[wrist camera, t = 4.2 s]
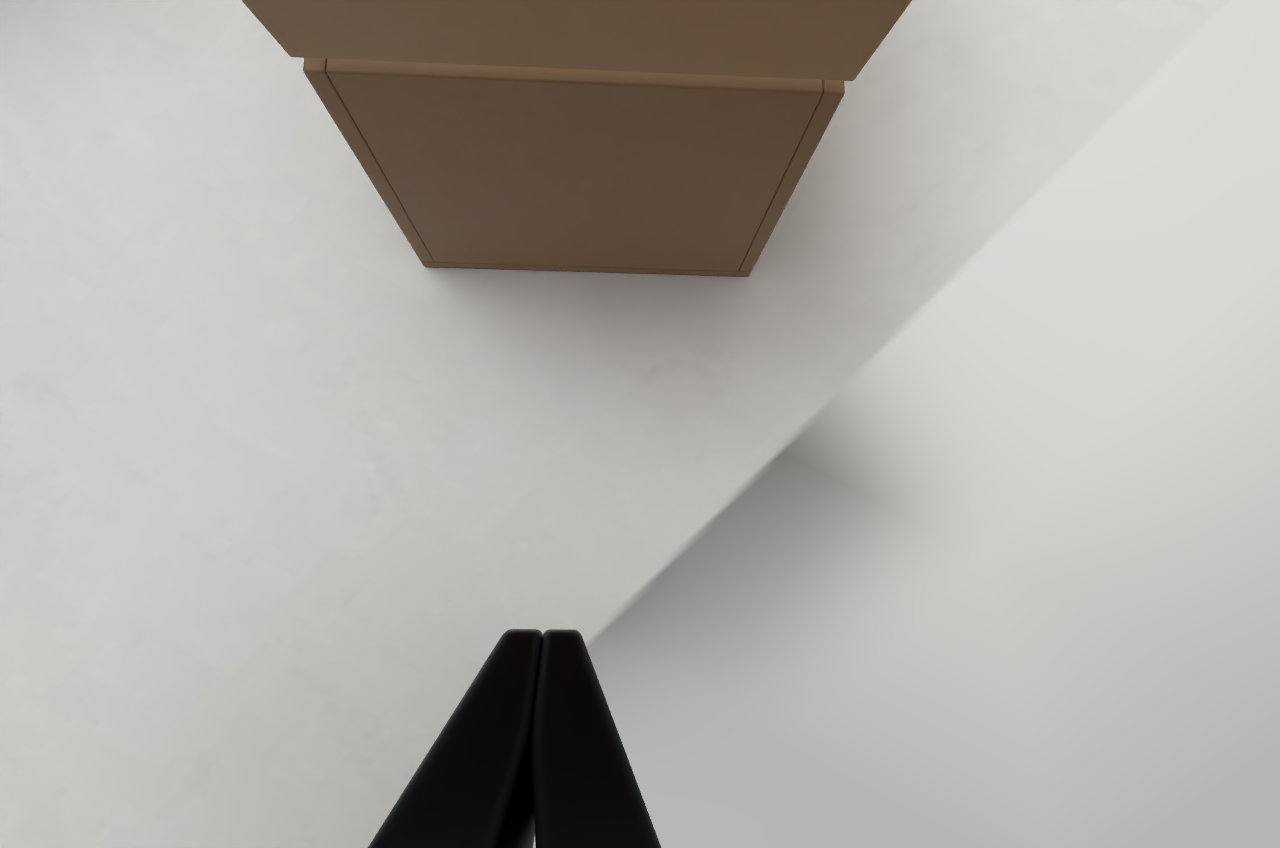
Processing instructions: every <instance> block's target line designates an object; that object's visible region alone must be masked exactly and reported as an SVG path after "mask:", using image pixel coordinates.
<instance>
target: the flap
mask: <svg viewBox="0 0 1280 848" xmlns="http://www.w3.org/2000/svg"><path fill="white" fill-rule="evenodd" d="M242 1H243V2H244V4H245V5H246V6H247V7H248V8H249V9H250V10H251V12H252V13H253V14H254V15H255V16H256V17H257V19H258V20H259V21H260V22H261V23H262V24H263V25H264V27H265V28H266V29H267V30H268V31H269V32H270V34H271V35H272V36H273V37H274V38H275V39H276V40H277V42H278V43H279V44H280V45H281V46H282V47H283V49H284V50H285V51H286V52H287V53H288V54H289V55H290V56H291V57H303V58H327V59H350V60H374V61H397V62H421V63H444V64H467V65H491V66H514V67H538V68H561V69H585V70H608V71H632V72H655V73H679V74H702V75H726V76H749V77H773V78H796V79H820V80H843V81H853V80H854V79H855V78H856V76H857V75H858V74H859V72H860V71H861V69H862V68H863V67H864V65H865V64H866V63H867V61H868V60H869V59H870V57H871V56H872V54H873V53H874V52H875V50H876V49H877V48H878V46H879V45H880V43H881V42H882V41H883V39H884V38H885V37H886V35H887V34H888V32H889V31H890V30H891V28H892V27H893V26H894V24H895V23H896V21H897V20H898V19H899V17H900V16H901V15H902V13H903V12H904V11H905V9H906V8H907V6H908V5H909V4H910V2H911V1H912V0H242Z"/></svg>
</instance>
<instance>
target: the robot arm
mask: <svg viewBox="0 0 1280 848" xmlns="http://www.w3.org/2000/svg"><path fill="white" fill-rule="evenodd" d="M534 836H535V842H536V848H661V846H660V843H659V841H658V838H657V835H656V832H655V830H654V827H653V824H652V822H651V819H650V816H649V814H648V811H647V809H646V806H645V803H644V800H643V798H642V795H641V793H640V790H639V787H638V785H637V782H636V779H635V776H634V774H633V771H632V768H631V766H630V763H629V760H628V758H627V755H626V752H625V750H624V747H623V744H622V742H621V739H620V737H619V734H618V731H617V728H616V726H615V723H614V720H613V718H612V715H611V713H610V710H609V707H608V705H607V702H606V699H605V696H604V694H603V691H602V689H601V686H600V684H599V680H598V678H597V675H596V673H595V670H594V667H593V665H592V662H591V659H590V657H589V654H588V651H587V649H586V646H585V643H584V641H583V638H582V636H581V634H580V633H579V632H578V631H577V630H551V629H550V630H547V631H546V632H545V633H544V634H542V632H541V631H539V630H536V629H510V630H508V631H506V632H505V633H504V634H503V635H502V637H501V638H500V640H499V641H498V643H497V644H496V646H495V648H494V649H493V651H492V652H491V654H490V655H489V657H488V659H487V660H486V662H485V663H484V665H483V667H482V668H481V670H480V671H479V673H478V674H477V676H476V678H475V679H474V681H473V682H472V684H471V686H470V687H469V689H468V690H467V692H466V693H465V695H464V697H463V698H462V700H461V701H460V703H459V704H458V706H457V708H456V709H455V711H454V712H453V714H452V716H451V717H450V719H449V720H448V722H447V723H446V725H445V727H444V728H443V730H442V731H441V733H440V735H439V736H438V738H437V739H436V741H435V742H434V744H433V746H432V747H431V749H430V750H429V752H428V753H427V755H426V757H425V758H424V760H423V761H422V763H421V765H420V766H419V768H418V769H417V771H416V772H415V774H414V776H413V777H412V779H411V780H410V782H409V784H408V785H407V787H406V788H405V790H404V791H403V793H402V795H401V796H400V798H399V799H398V801H397V803H396V804H395V806H394V807H393V809H392V810H391V812H390V814H389V815H388V817H387V818H386V820H385V821H384V823H383V825H382V826H381V828H380V829H379V831H378V833H377V834H376V836H375V837H374V839H373V840H372V842H371V844H370V845H369V847H368V848H533V842H534Z"/></svg>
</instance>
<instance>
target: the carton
mask: <svg viewBox="0 0 1280 848" xmlns="http://www.w3.org/2000/svg"><path fill="white" fill-rule="evenodd" d="M303 71H304V73H305V75H306V76H307V78H308V80H309V81H310V83H311V84H312V86H313V88H314V89H315V91H316V93H317V94H318V96H319V97H320V99H321V101H322V102H323V104H324V105H325V107H326V109H327V110H328V112H329V114H330V115H331V117H332V118H333V120H334V122H335V123H336V125H337V126H338V128H339V130H340V131H341V133H342V135H343V136H344V138H345V139H346V141H347V143H348V144H349V146H350V147H351V149H352V151H353V152H354V154H355V156H356V157H357V159H358V160H359V162H360V164H361V165H362V167H363V168H364V170H365V172H366V173H367V175H368V177H369V178H370V180H371V181H372V183H373V185H374V186H375V188H376V189H377V191H378V193H379V194H380V196H381V198H382V199H383V201H384V202H385V204H386V206H387V207H388V209H389V210H390V212H391V214H392V215H393V217H394V219H395V220H396V222H397V223H398V225H399V227H400V228H401V230H402V231H403V233H404V235H405V236H406V238H407V240H408V241H409V243H410V244H411V246H412V248H413V249H414V251H415V252H416V254H417V256H418V257H419V259H420V261H421V262H422V264H423V265H424V266H425V267H457V268H489V269H522V270H554V271H587V272H619V273H652V274H684V275H717V276H749V275H750V273H751V271H752V269H753V267H754V265H755V263H756V261H757V260H758V258H759V256H760V254H761V252H762V250H763V248H764V246H765V244H766V242H767V240H768V239H769V237H770V235H771V233H772V231H773V229H774V227H775V225H776V223H777V221H778V219H779V218H780V216H781V214H782V212H783V210H784V208H785V206H786V204H787V202H788V200H789V198H790V197H791V195H792V193H793V191H794V189H795V187H796V185H797V183H798V181H799V179H800V177H801V175H802V174H803V172H804V170H805V168H806V166H807V164H808V162H809V160H810V158H811V156H812V154H813V153H814V151H815V149H816V147H817V145H818V143H819V141H820V139H821V137H822V135H823V133H824V132H825V130H826V128H827V126H828V124H829V122H830V120H831V118H832V116H833V114H834V112H835V111H836V109H837V107H838V105H839V103H840V101H841V99H842V97H843V95H844V81H843V80H820V79H796V78H773V77H749V76H726V75H702V74H679V73H655V72H632V71H608V70H585V69H561V68H538V67H514V66H491V65H467V64H444V63H421V62H397V61H374V60H350V59H327V58H304V67H303Z"/></svg>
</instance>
